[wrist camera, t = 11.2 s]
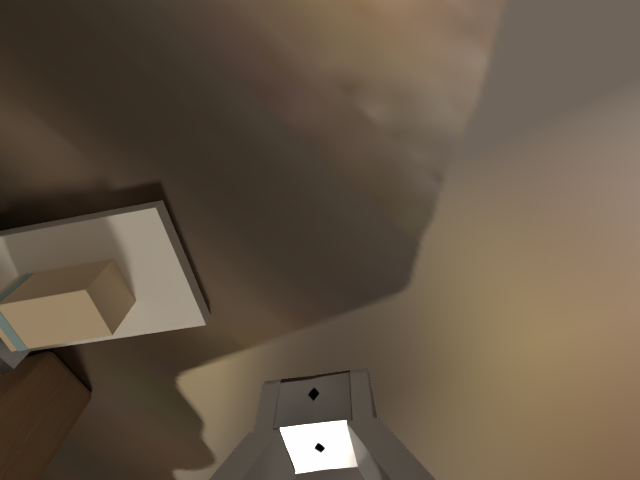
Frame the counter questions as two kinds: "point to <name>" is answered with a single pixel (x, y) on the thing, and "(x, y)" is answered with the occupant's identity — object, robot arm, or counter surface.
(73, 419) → the wooden block
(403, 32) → the counter surface
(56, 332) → the carton
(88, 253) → the white tray
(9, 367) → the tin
